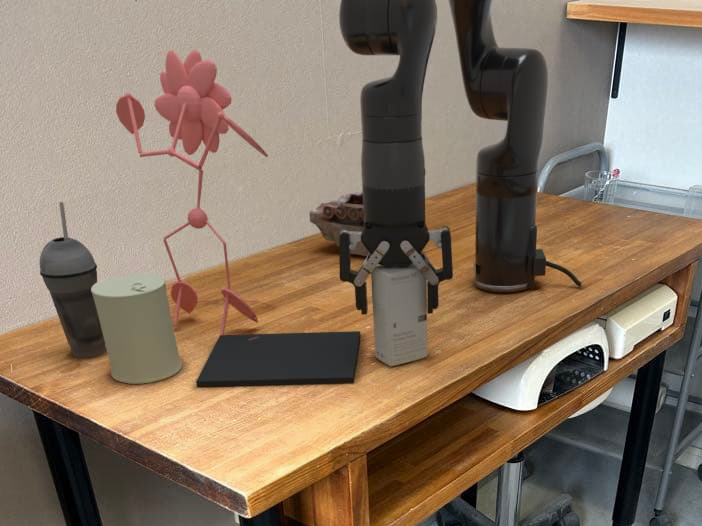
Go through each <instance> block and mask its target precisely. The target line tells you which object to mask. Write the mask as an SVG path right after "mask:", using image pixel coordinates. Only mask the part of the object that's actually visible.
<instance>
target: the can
mask: <svg viewBox="0 0 702 526" xmlns="http://www.w3.org/2000/svg"><path fill="white" fill-rule="evenodd" d="M91 292H92V294H93V297H94V301H95V305H96V309H97V313H98V317H99V320H100V324H101V328H102V332H103V336H104V341H105V346H106V352H107V353H106V354H107V356H108V357H107V358H108V361H109V366H110V375H111V377H112V378H113V380H115V381H117V382H120V383H123V384H130V385H141V384H150V383H156V382H160V381H163V380H165V379H169V378H170V377H173V376H174V375H176V374H177V373H179V371H181V369H182V367H183V362H182V360H181V358H180V353H179V348H178V345H177V339H176V335H175V329H174V325H173V323H174V322H173V319H172V313H171V307H170V303H169V298H168V291H167V286H166V279H165V278H164V277H163V276H161V275H159V274H155V273H147V272H134V273H124V274H119V275H118V274H117V275H114V276H113V275H112V276H110V277H107V278H104V279H102V280H99V281H97V283H95V284H94V285H93V286H92V288H91Z"/></svg>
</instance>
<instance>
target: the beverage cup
mask: <svg viewBox="0 0 702 526" xmlns="http://www.w3.org/2000/svg"><path fill="white" fill-rule="evenodd" d="M64 203H65V202H63V201H59V211H60V218H61V219H60V220H61V227H62V233H63V236H61V237H56V238H53V239H51V240H50V241H48V242H46V244H45V245H44V247H43V248H42V250H41V252H40V256H39V270H40V271H39V275H40V276H41V277H42V281H43V283H44V284H45V287H46V289H47V290H48V292H49V294H50V297H51V300H52V303H53V305H54V309H55V311H56V313H57V316H58V318H59V322H60V324H61V327H62V329H63V330H62V331H63V333H64V335H65V338H66V341H67V343H68V346H69V348H70V350H71V353H72V355H73V357H76V358H80V359H88V358H94V357H98V356H102V355H104V353H105V352H107V349H106V345H105V341H104V336H103V332H102V328H101V324H100V320H99V317H98V313H97V309H96V305H95V301H94V297H93V294H92V292H91V288H92V286H93V285H94V284H95V283H97V282H98V271H97V268H98V265H97V263H96V262H95V261H96V260H95V259H94V256H93V254H92V253H91V251H90V250H89V249H88V248H87V246H86V245H84V244H83V243H82V242H80V241H79V240H77V239H75V238H72V237H69V235H68V234H69V233H68V228H67V227H68V226H67V219H66V212H65V204H64Z"/></svg>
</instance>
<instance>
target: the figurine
mask: <svg viewBox="0 0 702 526" xmlns="http://www.w3.org/2000/svg"><path fill="white" fill-rule="evenodd" d="M164 64H165V71H164V70H162V71H161V73H160V74H159V80H160V84H161V89H162V91H163V94H161V95H159V96H157V98H156V99H155V100H154V108H155V111H156V112H157V113H158V114H159V115H160V116H161V117H162V118H164V119H165V120H166V121H168V122H169V124H168V132H169V136H170V137H171V138H172V142H171V145H170V147H168V148H167V149H164V150H154V151H144V152H143V147H142V143H141V139H140V135H139V130H140V129H141V128H143V126H144V123H145V120H146V114H145V109H144V107H143V104H141V102H140V100H139V99H138V98H136V97H135V96H133V95H132V93H131V92H129V91H127V92H125V94H124V95H120V96H119V98H118V100H117V102H116V103H115V114H116V115H117V118H118V120H119V122H120V124H122V125H123V127H124V129H126V130H127V131H128V132H129V133H130V134H131V135H133V134H134V138H135V142H136V143H135V144H136V148H137V153H138V154H139V158H145V157H146V158H147V157H153V156H154V157H155V156H163V155H168V156H169V157H170V158H171V157H175V158H177V159H178V160H180V161H182V162H184V163H185V164H187V165H189V166H190V167H192V168H194V169H195V170H197V171H198V184H197V202H196V207H194V208H192V209H190V210H189V211H188V214H187V222H186V223H184V224H182V225H181V226H179V227H178V228H176V229H175V230H173V231H172V232H170V233H169V234H167V235H165V236H164V237H163V240H162V241H163V243H164V246H165V249H166V251H167V255H168V256H169V260H170V262H171V265H172V268H173V271H174V274H175V276H176V279H177V281H175V282H174V283H172V286H171V289H170V296H171V299H172V301H173V302H174V303H175V310H174V317H173V322H172V323H173V327H178V324H179V323H178V322H179V316H180V309H182V310H183V311H184V312H186V313H188V314H189V315H190V314H191V313H192V312H193V311H194V310H195V308H196V306H197V305H198V304H200V303H209V302H224V305H223V313H222V318H221V324H220V331H219V334H220V335H225V329H226V323H227V318H228V317H227V316H228V311H229V305H231V306H232V307H233V308H234V309H235V310H236V311H237V312H239V313H240V314H242V315H243V316H244V317H246V318H248V319H249V320H251V321H253V322H254V323H256V324H258V323H259V320H258V317H257V315H256V313H255V311H254V310H253V309H252V307H251V306H250V305H249V304H248V302H249V303H256V304H261V305H266V306H270V307H272V308H275V309H277V310H278V307H277V306H274V305H272V304H269V303H266V302H261V301H259V300H254V299H253V300H246V299H245V300H244V299H243V298H242V297H240V295H238V294H237V293H235V292H234V291H232V289H231V280H230V269H229V260H228V252H227V251H228V249H227V243H226V241H225V240H224V239H223V237H221V235H220V234H219V233H218V231H217V230H216V229H215V228H214V226H212V224H211V223H210V221H208V220H209V219H208V215H207V213H206V212H205V210H203V209H202V208H201V198H202V188H203V187H202V186H203V178H204V170H203V167H204V164H205V162H206V159H207V157H208V154H209V153H210V152H211V153H212V154H214V153H217V151H218V150H219V146H220V135H226V134H227V133H228V132H229V128H231V129H232V130H233V132H235V133H236V134H237V135H238V136H239V137H240V138H242V139H243V140H244V141H245V142H246V143H248V145H250V146H251V147H253V148H254V149H255V150H256V151H258V152H259V153H260V154H262V155H263V156H264V157H265V158H268V157H269V154H268V153H267V152H266V151H265V150H264V149H263V148H262V147H261V146H260V144H259V143H258V142H257V141H256V140H254V138H253V137H251V135H249V134H248V133H247V132H246V131H245V130H244V129H243V128H242V127H240V126H239V124H237V123H236V122H235V121H233V120H232V119H231V118H230V117H228V116H227V115H226V114H225V112H224V109H226V108H228V107H229V106H231V104H232V95H231V94H230V92H229V91H228V90H227V89H226V88H225V87H224V86H223V85H221V84H219V83H217V82H215V81H216V77H217V72H218V69H217V66H216V63H215V62H213V61H212V60H210V59H209V60H207V59H205V60H202V55H201V52H200V51H199V50H198V49H194V50H191V52H190V53H188V54H187V56H186V58H185V60H184V62H182V60H181V58H180V57H179V55H178V54H177V53H176V52H175V50H171V49H170V50H168V51H167V53H166V57H165V63H164ZM179 140H180V141H181V142H182V148H183V150H184V153H186V154H187V155H188V156H192V155H194V154H195V153H196V152H197V151H198V149H199V147H200V145H201V144H202V143H203V144H204V146H205V148H204V151H203V152H202V154H201V155H202V156H201V157H200V160H199V163H198V162H196V161H194V160H193V159H191V158H189V157H186V156H185V155H183V154H181V153H179V152H177V151H176V148H177V144H178V141H179ZM188 226H191V227H192V228H194V229H203V228H205V227H206V226H208V227H209V229H210V230H211V231H212V232H213V233H214V235H215V236H216V237H217V238H218V239H219V241H220V242H221V243H222V244H223V245H222V246H223V253H224V263H225V272H226V273H225V274H226V281H227V288H226V287H221V291H220V292H221V295H222V296H223V297H224V298H219V299H217V298H216V299H215V300H213V299H212V300H202V301H198V294H197V292H196V290H195V289H194V288H193V287H192V285H190V284H189V283H188V282H186V281H183V280H181V277H180V274H179V272H178V271H179V270H178V268H177V266H176V263H175V261H174V258H173V255H172V252H171V250H170V246H169V244H168V241H167V239H169V238H170V237H172V236H173V235H175V234H177V233H179V232H180V231H182V230H183V229H185V228H186V227H188ZM258 337H259V336H258ZM258 337H255V338H258ZM255 338H251V339H248V340H252V339H255Z"/></svg>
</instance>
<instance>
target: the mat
mask: <svg viewBox="0 0 702 526" xmlns="http://www.w3.org/2000/svg"><path fill="white" fill-rule="evenodd" d="M258 336H259V337H258ZM255 337H258V338H255ZM251 338H255V339H252V340H248V339H251ZM360 341H361V331H359V330H354V331H353V330H351V331H350V330H349V331H318V332H314V331H313V332H286V333H285V332H284V333H283V332H281V333H280V332H277V333H249V334H248V333H247V334H246V333H245V334H244V333H242V334H220V335H219V336H218V338H217V341H216V342H215V344H214V345H213V347H212V348H213V349H212V350H211V352H210V354H209V355H208V358H207V360H206V361H205V363H204V365H203V367H202V369H201V371H200V373H199V375H198V377H197V379H196V381H195V382H196V387H197V388H208V387H209V388H214V387H246V386H247V387H249V386H251V387H253V386H284V385H285V386H288V385H318V384H319V385H320V384H321V385H322V384H328V385H329V384H354V382H355V376H356V368H357V363H358V355H359V349H360V348H359V347H360Z"/></svg>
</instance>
